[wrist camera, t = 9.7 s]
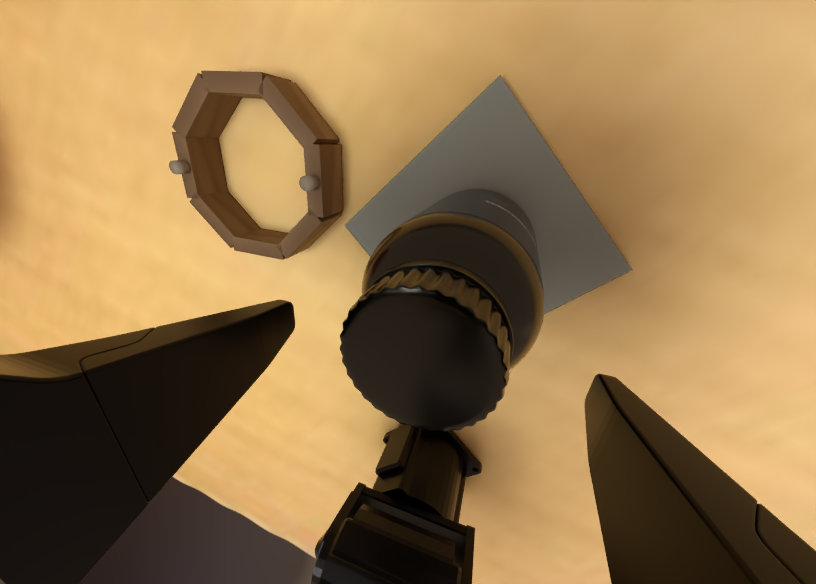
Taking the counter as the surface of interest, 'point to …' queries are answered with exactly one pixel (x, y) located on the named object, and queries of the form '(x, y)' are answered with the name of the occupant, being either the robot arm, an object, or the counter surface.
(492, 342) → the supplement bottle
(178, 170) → the walnut collar
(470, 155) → the rubber mat
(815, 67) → the counter surface
